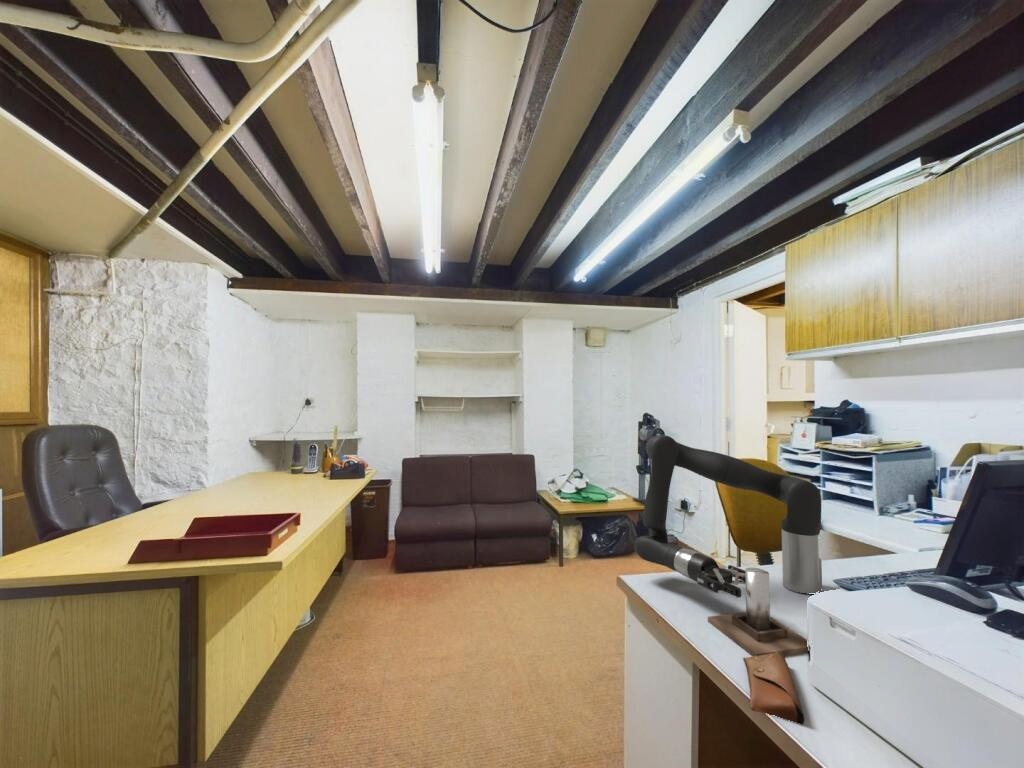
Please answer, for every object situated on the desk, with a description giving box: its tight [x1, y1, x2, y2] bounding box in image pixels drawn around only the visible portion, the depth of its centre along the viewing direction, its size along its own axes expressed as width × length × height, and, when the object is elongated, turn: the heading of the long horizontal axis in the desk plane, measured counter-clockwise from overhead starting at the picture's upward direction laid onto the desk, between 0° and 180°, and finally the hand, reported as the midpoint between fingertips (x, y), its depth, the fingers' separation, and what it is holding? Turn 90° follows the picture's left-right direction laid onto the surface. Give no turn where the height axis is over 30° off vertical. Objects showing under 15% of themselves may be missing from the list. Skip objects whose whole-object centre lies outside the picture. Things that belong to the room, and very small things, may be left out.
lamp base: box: [707, 611, 808, 657], centre depth 99 cm, size 16×16×3 cm
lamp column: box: [744, 567, 771, 632], centre depth 99 cm, size 5×5×14 cm
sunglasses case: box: [742, 650, 805, 726], centre depth 81 cm, size 18×7×7 cm, turn 156°
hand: (751, 589), depth 101 cm, fingers open, 8 cm apart
